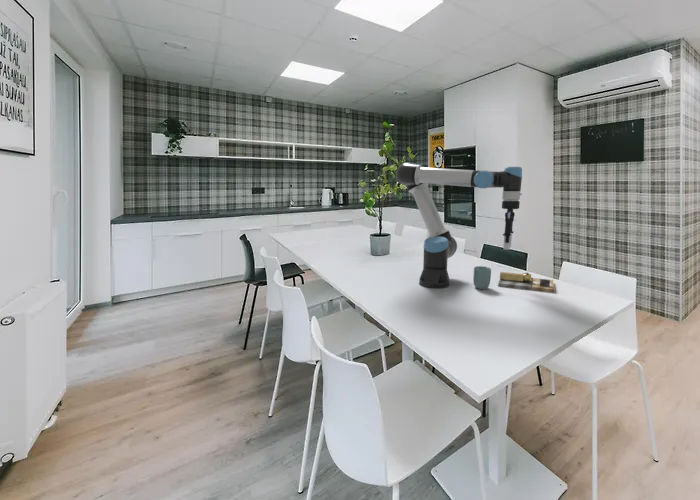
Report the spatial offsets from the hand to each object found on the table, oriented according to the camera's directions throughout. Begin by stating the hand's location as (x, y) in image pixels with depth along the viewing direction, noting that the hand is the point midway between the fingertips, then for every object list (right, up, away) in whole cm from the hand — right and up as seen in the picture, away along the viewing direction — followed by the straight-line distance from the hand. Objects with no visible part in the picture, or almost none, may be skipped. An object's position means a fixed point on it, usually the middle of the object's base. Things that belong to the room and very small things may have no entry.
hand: (507, 247), depth 168 cm
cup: (-12, -20, +1) cm, 23 cm away
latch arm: (+7, -16, +7) cm, 19 cm away
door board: (+12, -18, +6) cm, 23 cm away
